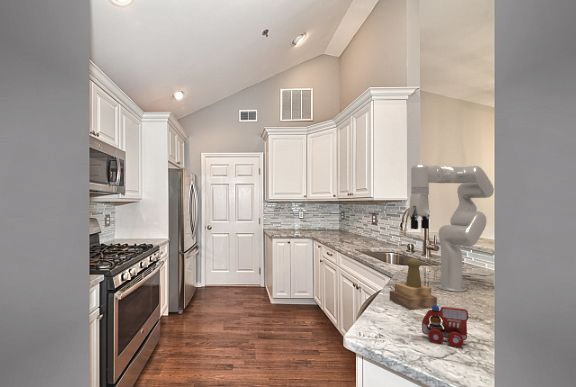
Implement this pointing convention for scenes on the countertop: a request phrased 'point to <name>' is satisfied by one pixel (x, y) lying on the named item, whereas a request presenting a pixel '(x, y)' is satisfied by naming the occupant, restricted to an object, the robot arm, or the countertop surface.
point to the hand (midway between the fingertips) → (419, 228)
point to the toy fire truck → (446, 325)
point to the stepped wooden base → (412, 297)
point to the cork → (413, 273)
